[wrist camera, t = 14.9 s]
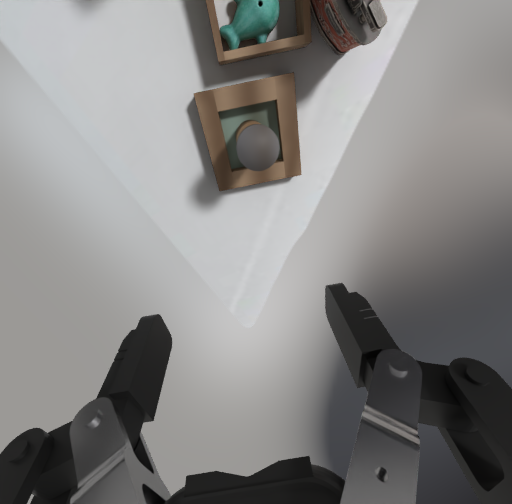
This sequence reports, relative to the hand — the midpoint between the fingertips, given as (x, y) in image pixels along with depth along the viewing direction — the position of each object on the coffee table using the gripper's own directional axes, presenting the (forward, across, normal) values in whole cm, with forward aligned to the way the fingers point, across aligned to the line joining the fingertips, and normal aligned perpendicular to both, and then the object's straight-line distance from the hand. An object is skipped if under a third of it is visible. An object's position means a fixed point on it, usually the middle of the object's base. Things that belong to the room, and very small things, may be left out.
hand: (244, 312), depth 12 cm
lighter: (+32, -15, -15) cm, 38 cm away
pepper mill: (+31, -3, -4) cm, 31 cm away
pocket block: (+31, -3, -4) cm, 32 cm away
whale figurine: (+32, -5, -16) cm, 36 cm away
